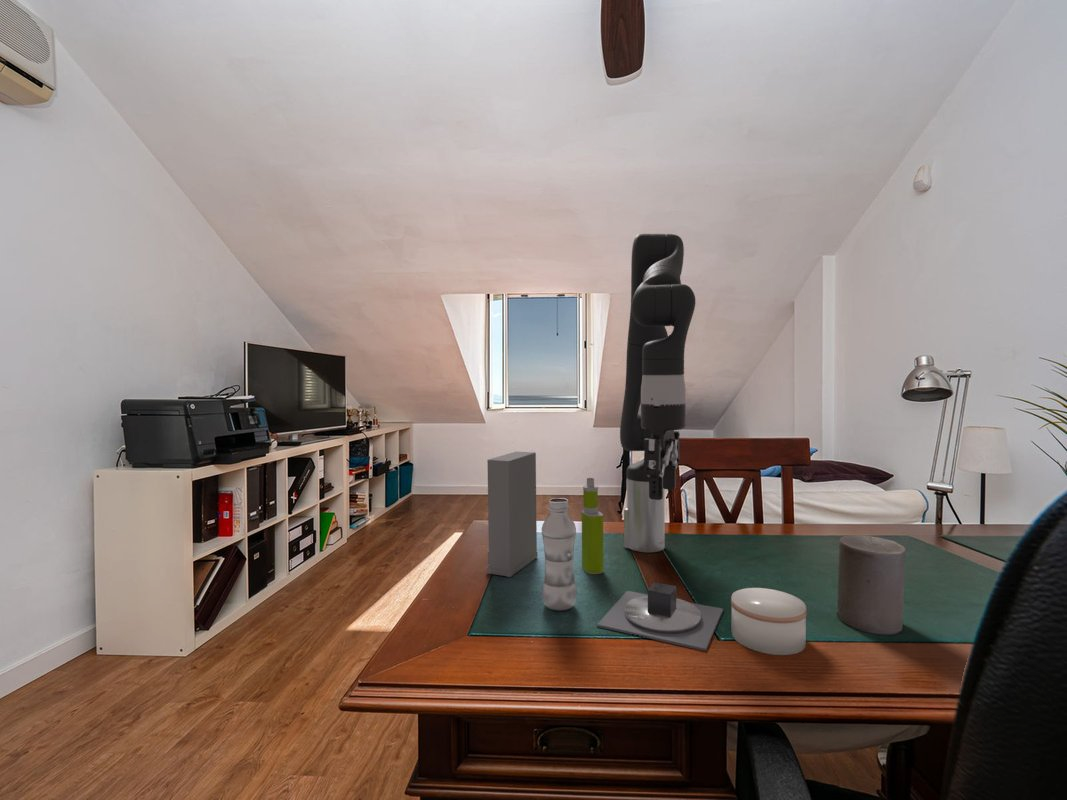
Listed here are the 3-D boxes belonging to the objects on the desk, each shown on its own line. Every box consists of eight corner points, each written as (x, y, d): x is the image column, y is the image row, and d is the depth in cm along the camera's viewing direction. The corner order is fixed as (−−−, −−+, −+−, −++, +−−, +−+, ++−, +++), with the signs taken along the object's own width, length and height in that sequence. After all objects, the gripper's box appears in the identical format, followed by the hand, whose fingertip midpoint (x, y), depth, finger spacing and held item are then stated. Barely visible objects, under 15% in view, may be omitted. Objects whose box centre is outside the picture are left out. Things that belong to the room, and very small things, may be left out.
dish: (725, 645, 85) (725, 607, 85) (735, 616, 95) (736, 583, 95) (805, 662, 80) (805, 622, 79) (807, 630, 89) (807, 595, 89)
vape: (595, 563, 122) (595, 476, 121) (605, 573, 116) (604, 481, 116) (580, 565, 121) (579, 477, 120) (589, 574, 116) (588, 482, 115)
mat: (597, 626, 92) (597, 624, 92) (627, 592, 106) (627, 590, 106) (705, 651, 83) (705, 648, 83) (723, 610, 97) (723, 608, 97)
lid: (614, 623, 92) (614, 594, 92) (637, 595, 103) (637, 570, 103) (691, 640, 86) (692, 609, 85) (707, 609, 97) (707, 582, 97)
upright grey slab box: (514, 554, 129) (513, 451, 128) (537, 557, 127) (536, 452, 126) (485, 573, 117) (483, 459, 116) (510, 578, 114) (508, 461, 113)
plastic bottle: (581, 602, 102) (580, 497, 101) (571, 617, 95) (570, 505, 94) (548, 597, 104) (547, 495, 103) (537, 612, 97) (536, 503, 96)
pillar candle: (824, 615, 95) (826, 532, 94) (860, 605, 99) (863, 524, 98) (879, 640, 86) (881, 548, 85) (916, 628, 90) (919, 540, 89)
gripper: (653, 399, 101) (653, 484, 102) (628, 403, 89) (628, 500, 89) (694, 399, 97) (693, 488, 98) (674, 404, 85) (674, 505, 86)
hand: (662, 494), depth 94 cm, fingers open, 8 cm apart
